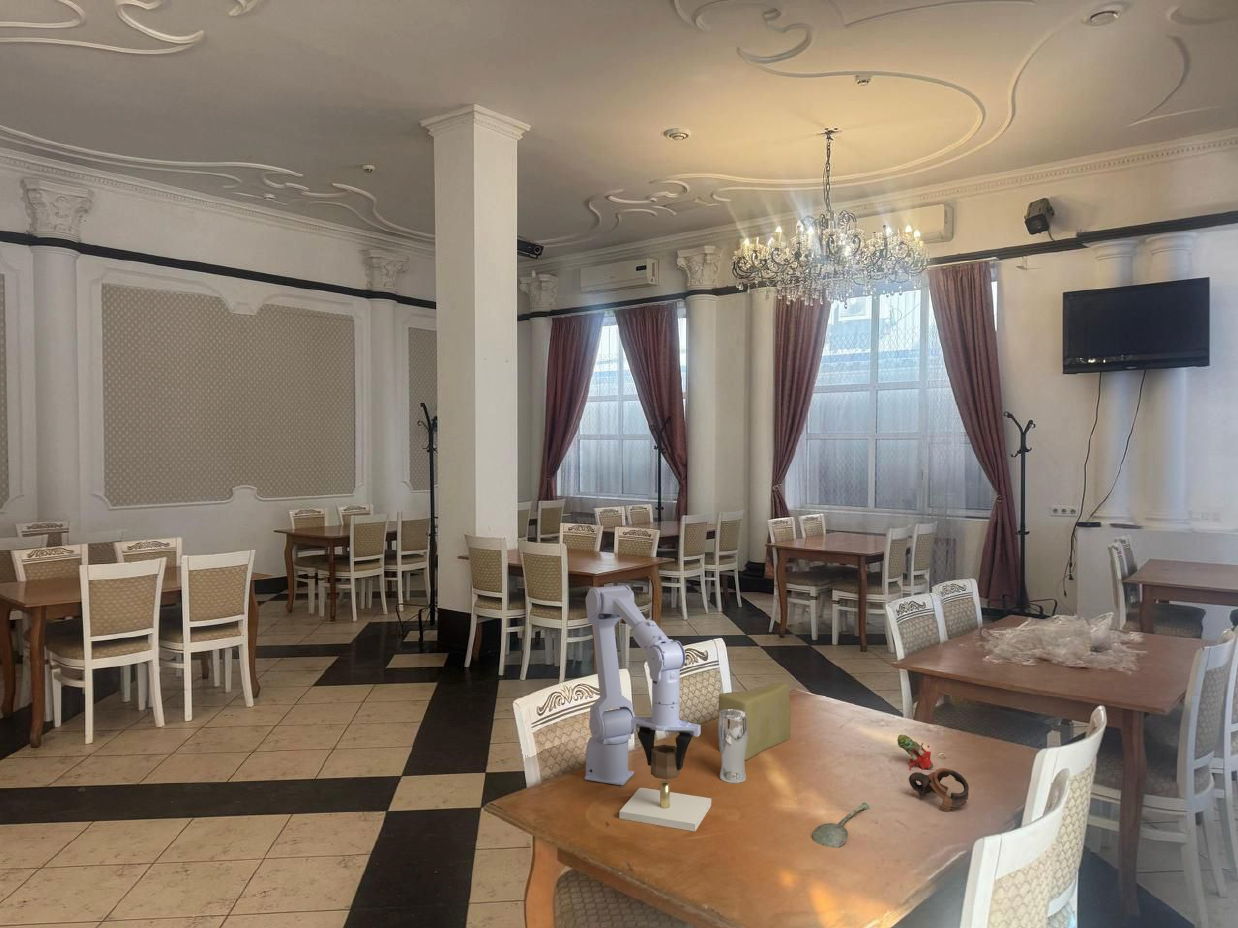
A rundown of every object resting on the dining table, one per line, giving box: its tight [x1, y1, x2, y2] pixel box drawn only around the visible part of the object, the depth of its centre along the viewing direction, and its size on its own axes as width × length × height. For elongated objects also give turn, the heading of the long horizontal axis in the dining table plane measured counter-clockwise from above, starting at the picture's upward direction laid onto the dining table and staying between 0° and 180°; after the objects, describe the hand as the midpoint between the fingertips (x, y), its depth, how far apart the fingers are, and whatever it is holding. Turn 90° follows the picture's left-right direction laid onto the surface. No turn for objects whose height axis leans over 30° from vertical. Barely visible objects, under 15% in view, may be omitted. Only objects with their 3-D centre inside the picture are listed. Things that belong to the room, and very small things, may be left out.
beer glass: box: [717, 709, 748, 784], centre depth 187 cm, size 7×7×15 cm
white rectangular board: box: [618, 786, 712, 832], centre depth 169 cm, size 16×13×2 cm
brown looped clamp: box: [908, 767, 970, 812], centre depth 174 cm, size 12×10×8 cm
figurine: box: [896, 734, 934, 771], centre depth 196 cm, size 7×9×10 cm
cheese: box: [718, 682, 792, 761], centre depth 208 cm, size 22×10×15 cm, turn 129°
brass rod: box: [659, 780, 671, 809], centre depth 168 cm, size 2×2×6 cm
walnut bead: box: [650, 744, 681, 781], centre depth 168 cm, size 6×6×5 cm
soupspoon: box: [811, 801, 871, 849], centre depth 163 cm, size 22×3×7 cm
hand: (665, 766), depth 168 cm, fingers closed on walnut bead, 6 cm apart
